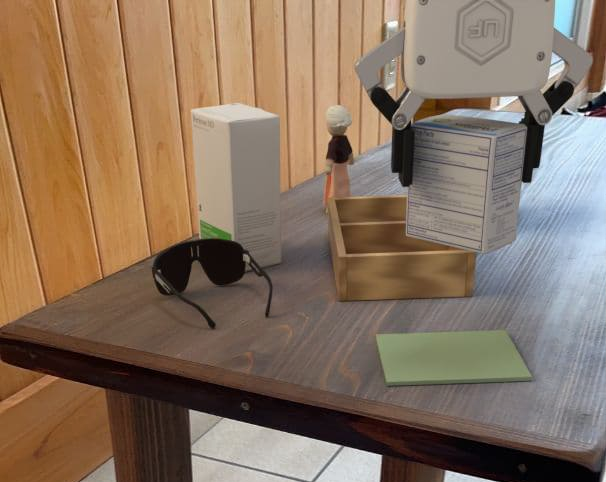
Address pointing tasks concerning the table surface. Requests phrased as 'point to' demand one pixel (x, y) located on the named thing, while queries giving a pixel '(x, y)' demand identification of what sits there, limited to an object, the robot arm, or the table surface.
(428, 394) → the table surface
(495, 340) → the pad
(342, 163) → the grandmother figurine
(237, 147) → the cosmetic box
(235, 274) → the sunglasses
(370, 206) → the organizer
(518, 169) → the medicine box
